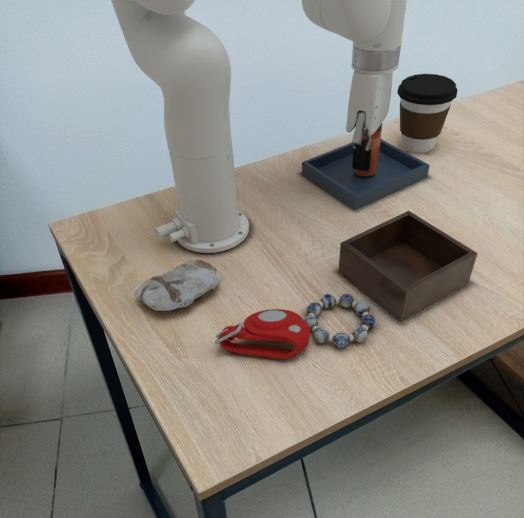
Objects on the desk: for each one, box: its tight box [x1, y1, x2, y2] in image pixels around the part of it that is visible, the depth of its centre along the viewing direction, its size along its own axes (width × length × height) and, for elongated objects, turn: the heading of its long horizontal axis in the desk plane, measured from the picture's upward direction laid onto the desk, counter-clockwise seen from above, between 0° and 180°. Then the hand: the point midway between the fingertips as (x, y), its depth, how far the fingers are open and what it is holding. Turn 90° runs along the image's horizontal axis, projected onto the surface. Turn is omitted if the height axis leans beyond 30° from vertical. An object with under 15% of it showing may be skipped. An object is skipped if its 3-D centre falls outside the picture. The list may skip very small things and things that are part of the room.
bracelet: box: [303, 293, 376, 349], centre depth 73 cm, size 10×10×2 cm
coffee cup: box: [396, 73, 458, 154], centre depth 102 cm, size 11×11×12 cm
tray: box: [301, 138, 431, 211], centre depth 99 cm, size 18×16×2 cm
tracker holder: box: [214, 308, 311, 360], centre depth 71 cm, size 12×4×10 cm
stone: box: [135, 258, 220, 312], centre depth 79 cm, size 12×9×3 cm
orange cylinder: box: [353, 128, 382, 176], centre depth 97 cm, size 4×4×7 cm
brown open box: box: [338, 210, 478, 322], centre depth 78 cm, size 14×14×6 cm
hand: (365, 161), depth 98 cm, fingers closed on orange cylinder, 4 cm apart
